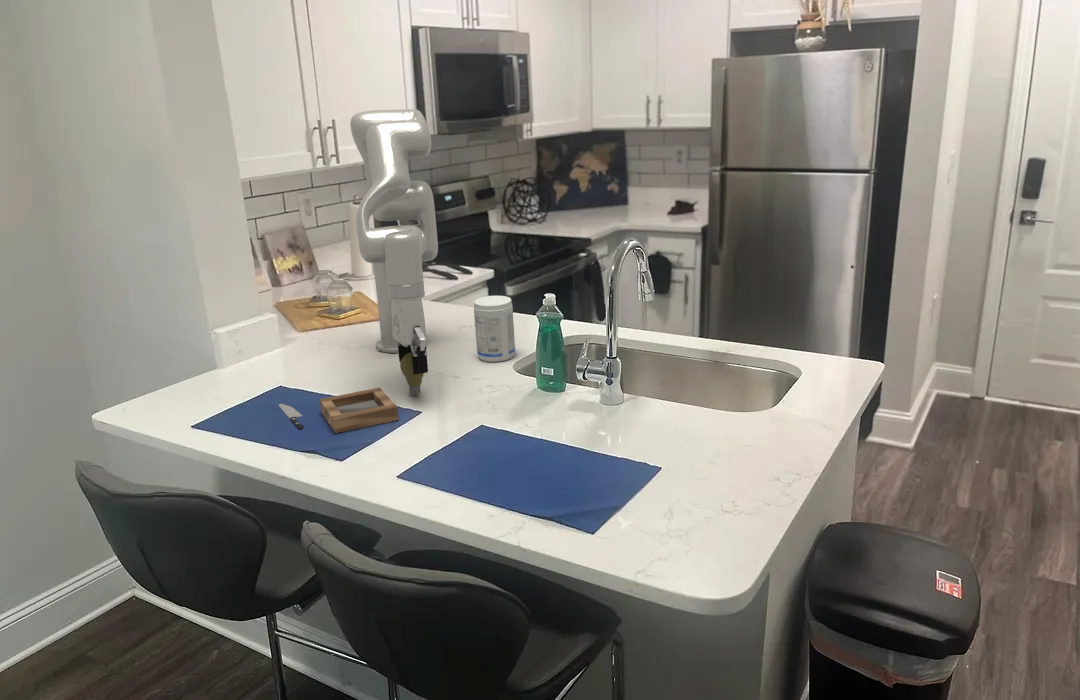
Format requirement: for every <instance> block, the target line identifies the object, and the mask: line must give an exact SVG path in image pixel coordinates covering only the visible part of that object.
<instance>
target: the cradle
mask: <svg viewBox="0 0 1080 700" xmlns="http://www.w3.org/2000/svg"><path fill="white" fill-rule="evenodd" d="M319 407H320V412H321V414H322V416H323V417H324V419H325V421H326V422H327V421H328V422H327V424H328V425H329V424H330V425H329V426H330V427H332V428H331V430H332V431H333V430H334V431H333V432H334V434H335V433H337V434H340V433H339V432H342V433H346V432H345V431H347V432H350V431H349V430H351V431H355V430H354V429H356V430H360V428H361V429H364V427H365V428H369V426H370V427H374V426H373V425H375V426H378V425H377V424H379V425H382V423H384V424H388V423H391V422H392V421H393V422H397V421H396V420H398V421H399V420H400V419H399V409H398V405H397V404H395V403H394V401H393V400H392V399H391V398H390V397H389V396H388V395H387V394H386V393H385V392H384V390H383V389H382V388H381V387H376V388H375V387H374V388H370V389H365V390H360V391H354V392H350V393H344V394H340V395H339V394H338V395H334V396H328V397H323V398H320V399H319ZM393 422H392V423H393Z"/></svg>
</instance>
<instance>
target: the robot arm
mask: <svg viewBox="0 0 1080 700" xmlns="http://www.w3.org/2000/svg"><path fill="white" fill-rule="evenodd" d="M350 132H351V136H352V139H353V142H354V144H355V146H356V148H357V151H358V152H359V154H360V156H361V158H362V162H363V164H364V167H365V174H366V182H367V192H366V193H365V195H364V196H363V197H362V198H361V201H360V203H359V206H358V207H357V212H356V218H355V221H356V233H357V235H356V236H357V242H358V250H359V253H360V256H361V258H362V259H363V260H364V262H366V263H369V264H372V268H373V274H374V275H373V276H374V282H375V291H376V293H375V294H376V300H377V301H376V302H377V311H378V312H377V313H378V321H379V322H378V323H379V331H380V339H379V340H378V341H376V343H375V348H376V350H377V351H379V352H382V353H390V354H396V353H397V354H398V361H399V363H400V362H401V360H402V358H403V357H404V356H405V355H406V354H408V353H410V352H412V353H413V356H412V367H413V374H415V375H417V374H422V373H424V374H427V373H428V372H429V367H428V363H429V362H428V352H427V349H428V348H427V346H426V345H427V328H426V320H425V312H424V307H423V300H422V299H423V298H424V297H425V295H426V294H425V283H424V272H423V262H430V261H433V260H434V259H435V258H436V257H437V255H438V253H439V243H438V242H439V241H438V232H437V231H438V230H437V219H436V209H435V199H434V195H433V194H434V193H433V190H432V188H431V186H430V185H429V183H427V182H426V181H423V180H411V177H410V172H409V165H408V159H419V158H420V159H421V158H425V157H426V158H427V157H428V156H429V155H430V153H431V150H432V135H431V132H430V127H429V125H428V123H427V121H426V119H425V116H424V115H423V113H422V112H421V110H419V109H415V108H410V109H409V108H405V109H381V110H378V109H377V110H367V111H366V110H365V111H361V112H357V113H355V114H354V115H353V116H352V117H351V119H350ZM371 216H372V217H373V218H374V219H375V220H377V221H381V222H382V221H383V222H390V221H391V222H393V221H406V220H415V221H416V222H418V224H417V223H416V224H405V225H404V224H401V225H400V224H399V225H389V226H383V227H382V226H381V227H374V228H371V227H370V218H371Z"/></svg>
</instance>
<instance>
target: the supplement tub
mask: <svg viewBox="0 0 1080 700" xmlns="http://www.w3.org/2000/svg"><path fill="white" fill-rule="evenodd" d="M513 310H514V309H513V302H512V298H511V297H509V296H505V295H486V296H483V297H477V298H476V299H475V300H474V301H473V315H474V316H473V317H474V328H475V330H474V331H475V342H476V352H477V354H476V355H477V357H478V358H479V360H481V361H483V362H489V363H497V362H499V363H500V362H505V361H508V360H510V359H512V358H513V357H515V355H516V344H515V343H516V341H515V328H514V327H515V324H514V311H513Z"/></svg>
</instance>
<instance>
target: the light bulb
mask: <svg viewBox="0 0 1080 700" xmlns="http://www.w3.org/2000/svg"><path fill="white" fill-rule="evenodd" d="M412 356H413V353H412V352H410V353H408V354H406V355H405V356H404V357H403V358H402V360H401V362H399V363H400V364H399V367H400V371H401V373H402V374H403V377H404V378H405V380H406V383H407V385H408V386H409V387H408V389H409V394H410V395H411V396H413V397H418V396H419V395H420V394H421V393H422V390H421V386H422V382H423V377H424V374H425V373H422V374H417V375H415V374H413V367H412Z"/></svg>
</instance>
